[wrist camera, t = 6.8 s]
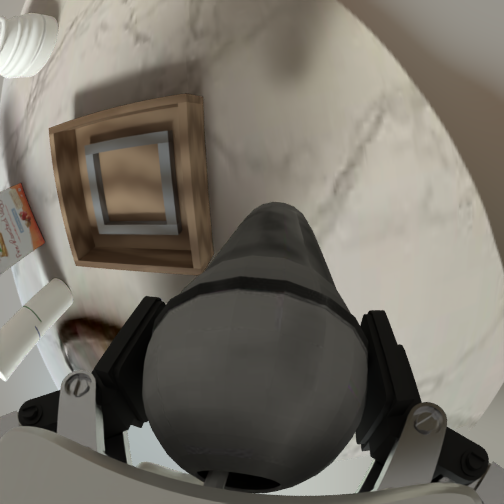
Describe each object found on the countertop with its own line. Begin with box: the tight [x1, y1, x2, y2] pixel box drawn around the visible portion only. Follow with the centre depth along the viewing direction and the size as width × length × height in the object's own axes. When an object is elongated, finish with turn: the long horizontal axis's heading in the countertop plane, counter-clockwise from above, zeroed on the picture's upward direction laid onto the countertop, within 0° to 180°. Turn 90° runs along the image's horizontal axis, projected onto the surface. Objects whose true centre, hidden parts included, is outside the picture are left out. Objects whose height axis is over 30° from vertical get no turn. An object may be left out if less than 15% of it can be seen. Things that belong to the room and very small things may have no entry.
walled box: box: [49, 93, 214, 275], centre depth 34 cm, size 22×22×6 cm
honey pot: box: [0, 13, 58, 78], centre depth 19 cm, size 13×13×18 cm
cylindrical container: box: [0, 278, 73, 381], centre depth 39 cm, size 7×7×25 cm
